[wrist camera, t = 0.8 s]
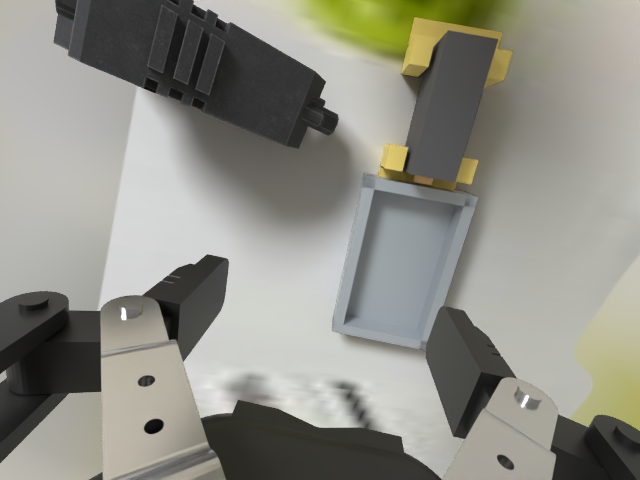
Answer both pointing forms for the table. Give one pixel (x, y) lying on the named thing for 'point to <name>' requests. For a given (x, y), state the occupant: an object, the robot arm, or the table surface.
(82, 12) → the tool
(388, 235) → the tray
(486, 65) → the grey slab
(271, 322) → the table surface
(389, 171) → the blocks
